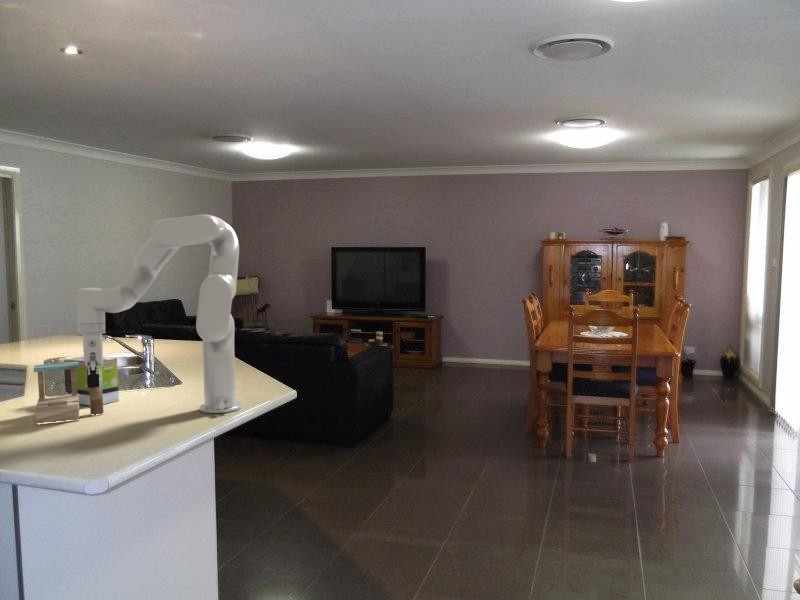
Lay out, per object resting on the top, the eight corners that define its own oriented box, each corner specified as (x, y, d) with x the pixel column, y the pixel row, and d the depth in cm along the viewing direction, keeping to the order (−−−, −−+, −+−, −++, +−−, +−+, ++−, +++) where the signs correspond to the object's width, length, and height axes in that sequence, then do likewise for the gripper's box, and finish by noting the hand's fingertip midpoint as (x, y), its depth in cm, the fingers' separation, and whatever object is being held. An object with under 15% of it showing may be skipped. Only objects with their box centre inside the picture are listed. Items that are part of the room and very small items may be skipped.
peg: (103, 414, 202) (101, 382, 201) (90, 416, 201) (88, 383, 200) (103, 412, 205) (101, 380, 205) (90, 413, 204) (88, 381, 203)
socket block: (80, 420, 196) (77, 369, 195) (34, 425, 191) (31, 373, 189) (80, 409, 210) (78, 361, 209) (37, 413, 205) (34, 365, 204)
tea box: (120, 401, 221) (118, 357, 220) (93, 407, 213) (90, 361, 211) (92, 396, 229) (89, 354, 228) (64, 402, 220) (62, 358, 219)
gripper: (106, 331, 195) (107, 388, 196) (104, 325, 210) (105, 378, 212) (77, 332, 192) (79, 390, 193) (78, 326, 207) (79, 380, 208)
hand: (93, 384), depth 202 cm, fingers open, 9 cm apart
